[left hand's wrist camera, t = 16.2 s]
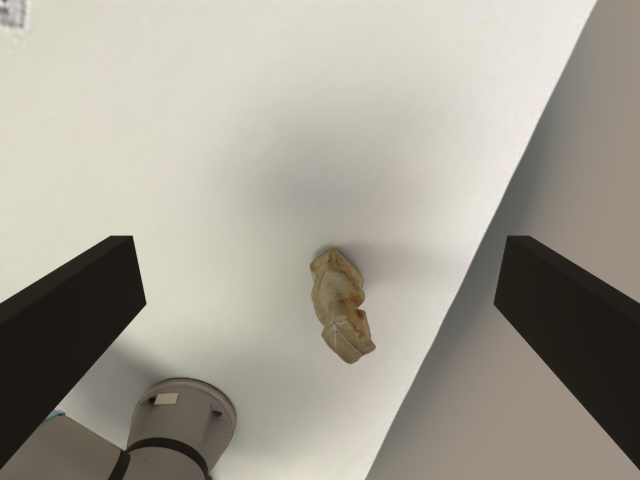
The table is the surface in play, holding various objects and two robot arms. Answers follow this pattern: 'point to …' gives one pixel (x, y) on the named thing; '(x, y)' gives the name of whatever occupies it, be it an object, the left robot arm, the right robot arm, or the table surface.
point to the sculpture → (341, 306)
